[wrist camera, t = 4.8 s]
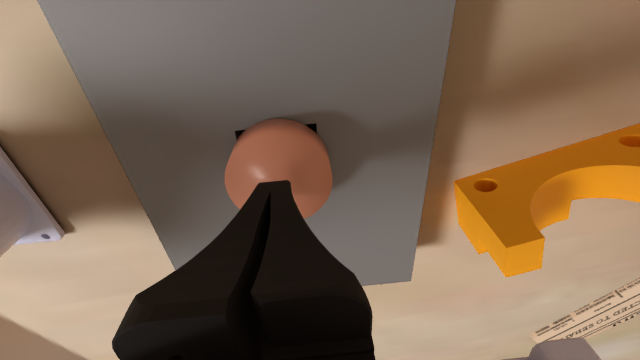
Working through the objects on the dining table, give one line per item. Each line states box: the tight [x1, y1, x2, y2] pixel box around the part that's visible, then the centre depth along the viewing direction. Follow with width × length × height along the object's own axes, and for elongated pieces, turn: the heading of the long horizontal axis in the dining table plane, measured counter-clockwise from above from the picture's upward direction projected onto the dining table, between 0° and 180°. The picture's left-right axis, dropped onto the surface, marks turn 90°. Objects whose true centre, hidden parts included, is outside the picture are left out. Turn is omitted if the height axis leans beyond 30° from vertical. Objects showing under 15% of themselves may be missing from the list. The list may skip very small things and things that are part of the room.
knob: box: [225, 119, 332, 219], centre depth 16 cm, size 5×5×5 cm
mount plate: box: [37, 0, 456, 286], centre depth 17 cm, size 16×22×3 cm
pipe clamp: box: [454, 123, 640, 277], centre depth 19 cm, size 12×4×6 cm, turn 109°
